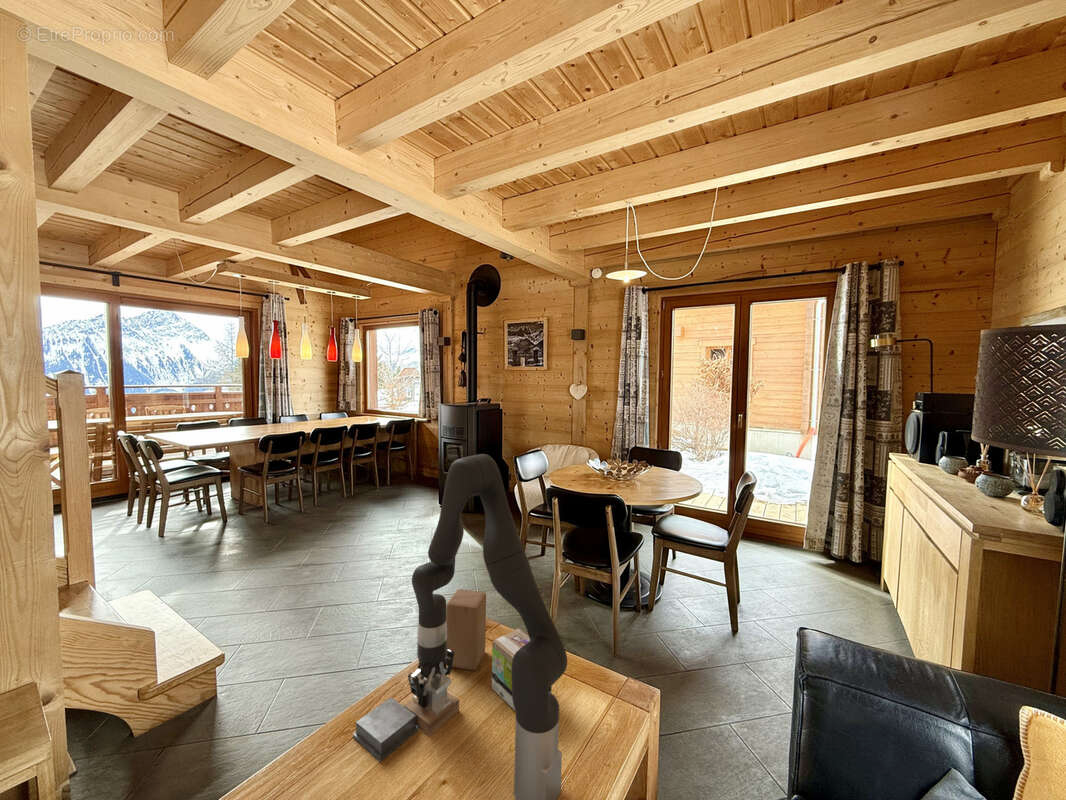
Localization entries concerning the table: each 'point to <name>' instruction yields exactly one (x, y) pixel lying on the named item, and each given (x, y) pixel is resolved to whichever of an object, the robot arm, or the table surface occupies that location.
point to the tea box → (506, 662)
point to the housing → (437, 695)
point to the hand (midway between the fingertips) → (431, 699)
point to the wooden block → (466, 627)
